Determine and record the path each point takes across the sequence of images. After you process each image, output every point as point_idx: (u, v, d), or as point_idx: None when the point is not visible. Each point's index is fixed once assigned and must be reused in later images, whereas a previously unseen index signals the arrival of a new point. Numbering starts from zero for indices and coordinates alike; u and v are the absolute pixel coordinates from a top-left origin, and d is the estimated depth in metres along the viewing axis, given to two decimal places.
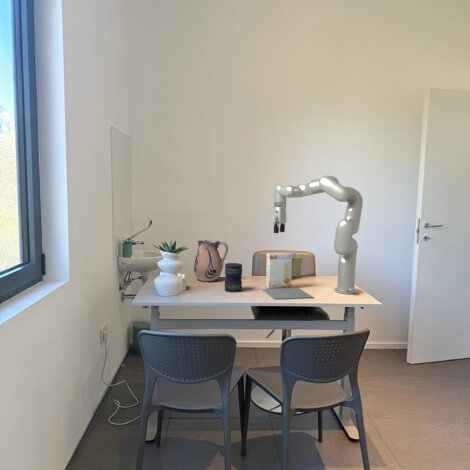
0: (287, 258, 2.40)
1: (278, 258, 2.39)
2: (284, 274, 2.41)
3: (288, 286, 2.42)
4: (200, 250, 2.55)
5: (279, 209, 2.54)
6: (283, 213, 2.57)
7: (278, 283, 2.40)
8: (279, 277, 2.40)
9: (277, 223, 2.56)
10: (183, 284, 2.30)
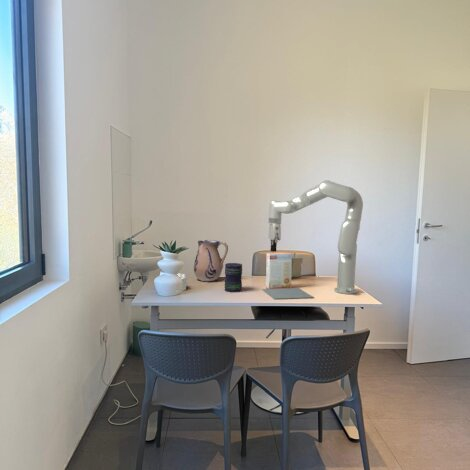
0: (287, 258, 2.40)
1: (278, 258, 2.39)
2: (284, 274, 2.41)
3: (288, 286, 2.42)
4: (200, 250, 2.55)
5: (279, 225, 2.46)
6: None
7: (278, 283, 2.40)
8: (279, 277, 2.40)
9: None
10: (183, 284, 2.30)
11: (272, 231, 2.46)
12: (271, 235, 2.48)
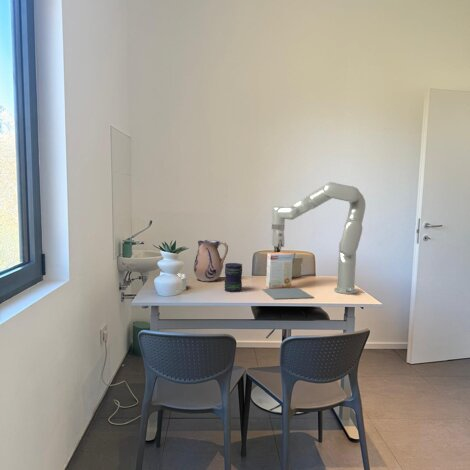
0: (288, 258, 2.39)
1: (279, 258, 2.37)
2: (285, 274, 2.40)
3: (288, 286, 2.42)
4: (200, 250, 2.55)
5: (282, 232, 2.40)
6: None
7: (278, 283, 2.40)
8: (280, 277, 2.39)
9: None
10: (183, 284, 2.30)
11: (275, 238, 2.41)
12: (274, 242, 2.43)
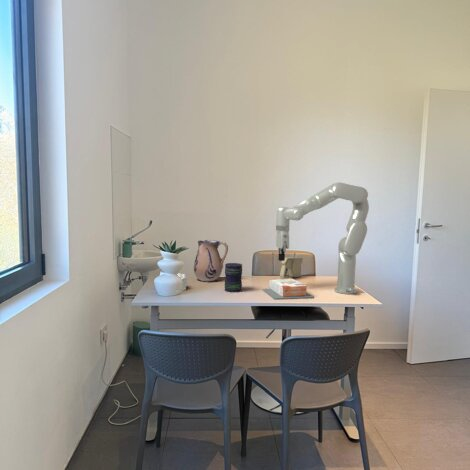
0: None
1: None
2: None
3: None
4: (200, 250, 2.55)
5: (287, 233, 2.33)
6: None
7: None
8: None
9: None
10: (183, 284, 2.30)
11: (280, 239, 2.33)
12: (279, 243, 2.35)
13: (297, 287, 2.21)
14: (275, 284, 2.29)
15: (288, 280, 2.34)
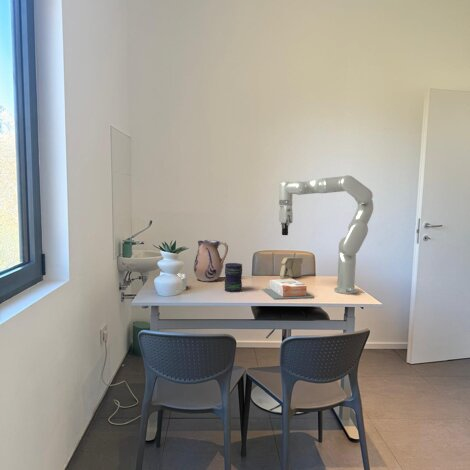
0: None
1: None
2: None
3: None
4: (200, 250, 2.55)
5: (290, 207, 2.34)
6: None
7: None
8: None
9: None
10: (183, 284, 2.30)
11: (283, 213, 2.35)
12: (282, 218, 2.36)
13: (297, 287, 2.21)
14: (275, 284, 2.29)
15: (288, 280, 2.34)
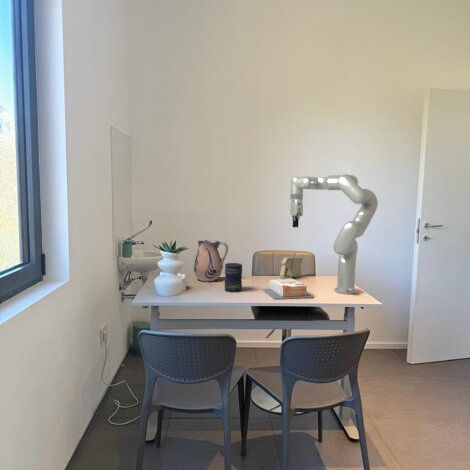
0: None
1: None
2: None
3: None
4: (200, 250, 2.55)
5: (301, 201, 2.49)
6: None
7: None
8: None
9: None
10: (183, 284, 2.30)
11: (294, 207, 2.50)
12: (293, 211, 2.52)
13: (297, 287, 2.21)
14: (275, 284, 2.29)
15: (288, 280, 2.34)
